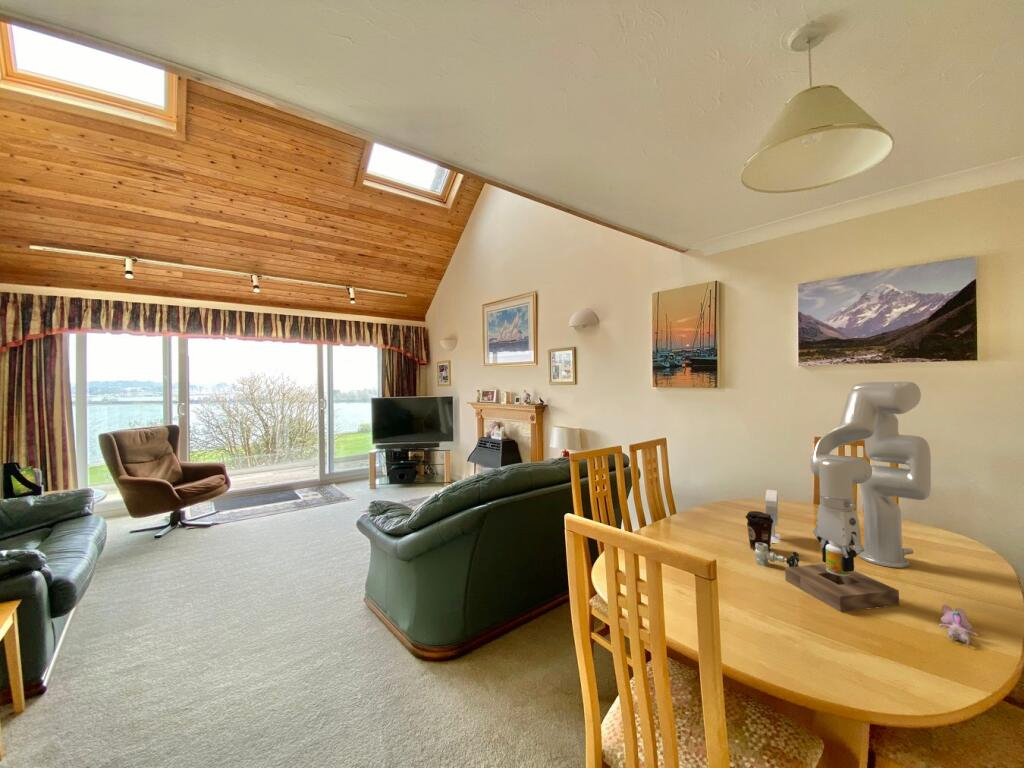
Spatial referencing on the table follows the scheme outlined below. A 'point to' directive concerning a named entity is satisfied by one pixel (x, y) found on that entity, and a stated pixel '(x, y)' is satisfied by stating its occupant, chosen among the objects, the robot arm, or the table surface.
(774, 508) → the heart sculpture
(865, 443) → the robot arm
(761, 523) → the coffee cup
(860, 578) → the socket block
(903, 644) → the table surface
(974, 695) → the table surface
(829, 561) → the supplement bottle
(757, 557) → the valve
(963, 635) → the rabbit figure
